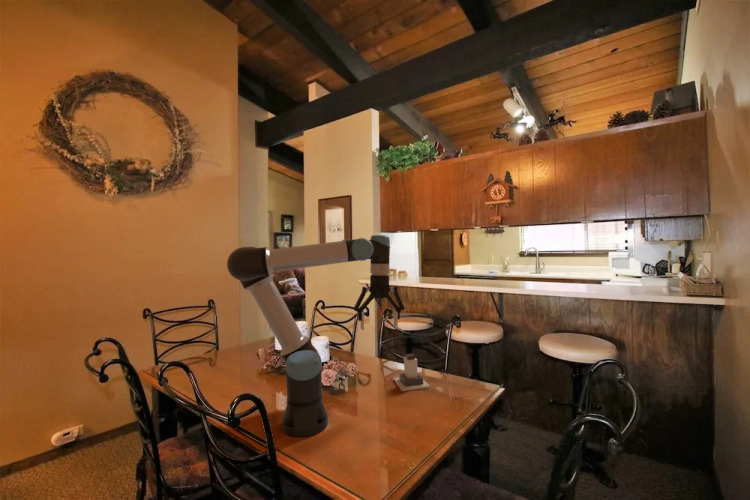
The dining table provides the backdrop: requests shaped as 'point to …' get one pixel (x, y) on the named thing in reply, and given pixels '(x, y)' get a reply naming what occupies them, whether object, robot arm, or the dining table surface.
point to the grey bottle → (410, 366)
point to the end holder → (411, 383)
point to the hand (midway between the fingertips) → (379, 328)
